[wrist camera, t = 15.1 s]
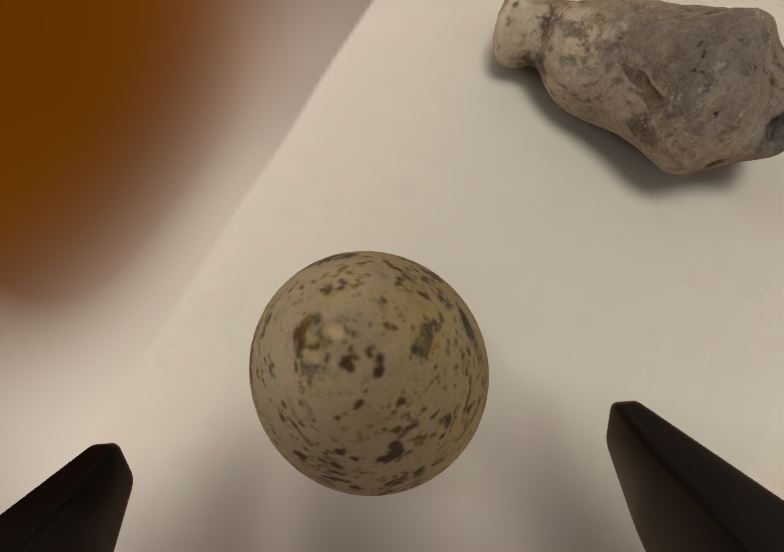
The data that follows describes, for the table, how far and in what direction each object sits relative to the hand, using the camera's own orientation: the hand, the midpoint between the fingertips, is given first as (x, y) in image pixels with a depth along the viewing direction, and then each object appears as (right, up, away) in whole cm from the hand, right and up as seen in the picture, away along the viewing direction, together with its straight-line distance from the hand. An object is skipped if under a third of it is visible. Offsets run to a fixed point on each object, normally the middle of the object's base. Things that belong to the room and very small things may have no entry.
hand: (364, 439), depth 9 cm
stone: (+9, +9, +11) cm, 17 cm away
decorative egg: (0, -1, +8) cm, 8 cm away
